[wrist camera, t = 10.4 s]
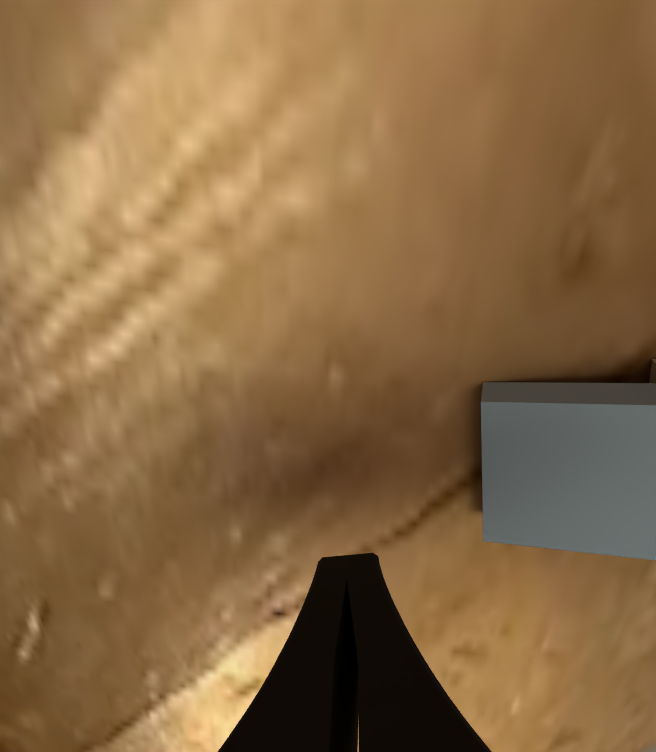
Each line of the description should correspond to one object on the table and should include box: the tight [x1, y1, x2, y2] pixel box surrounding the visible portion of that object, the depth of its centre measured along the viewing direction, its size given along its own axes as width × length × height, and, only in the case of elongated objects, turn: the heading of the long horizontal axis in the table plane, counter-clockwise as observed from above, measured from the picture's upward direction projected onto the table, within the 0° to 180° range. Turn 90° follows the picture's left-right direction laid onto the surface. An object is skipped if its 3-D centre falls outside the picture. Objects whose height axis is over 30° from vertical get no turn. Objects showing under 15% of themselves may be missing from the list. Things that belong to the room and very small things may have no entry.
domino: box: [481, 382, 656, 560], centre depth 15 cm, size 2×5×8 cm
